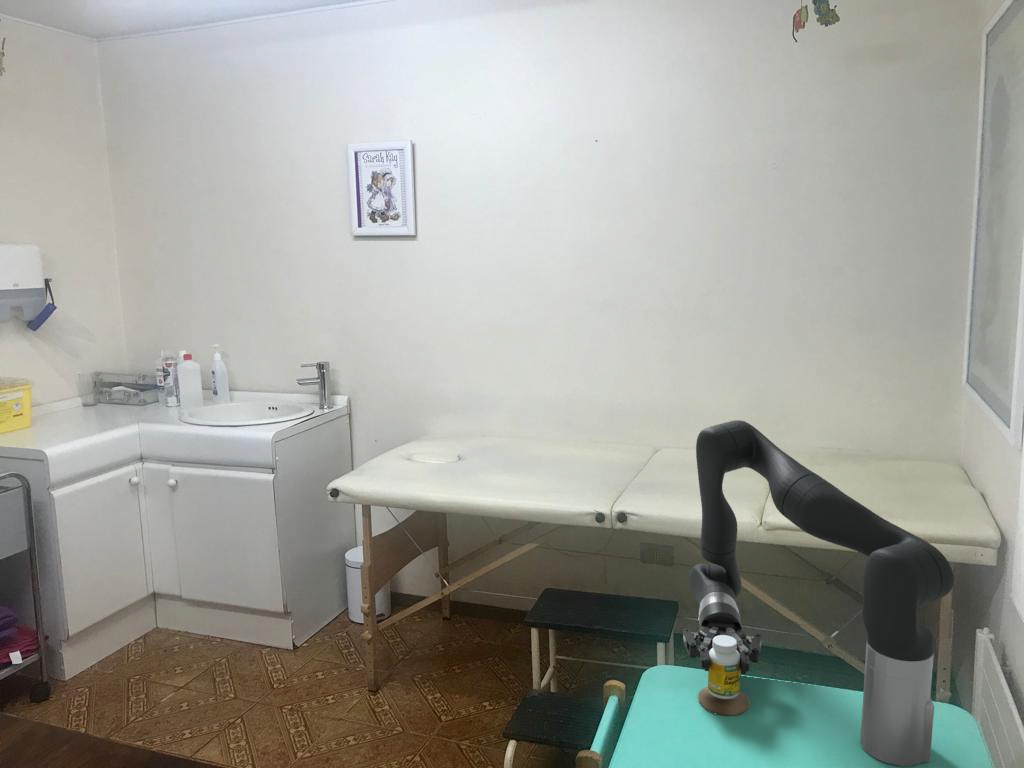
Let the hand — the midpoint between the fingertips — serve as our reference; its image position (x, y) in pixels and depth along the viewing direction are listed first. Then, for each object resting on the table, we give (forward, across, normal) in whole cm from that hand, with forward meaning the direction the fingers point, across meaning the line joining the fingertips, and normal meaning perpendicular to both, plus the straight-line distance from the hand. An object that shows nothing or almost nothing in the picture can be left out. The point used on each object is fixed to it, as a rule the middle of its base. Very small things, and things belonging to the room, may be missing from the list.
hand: (725, 667), depth 136 cm
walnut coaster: (-2, 0, +8) cm, 8 cm away
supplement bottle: (-3, 0, +6) cm, 7 cm away
